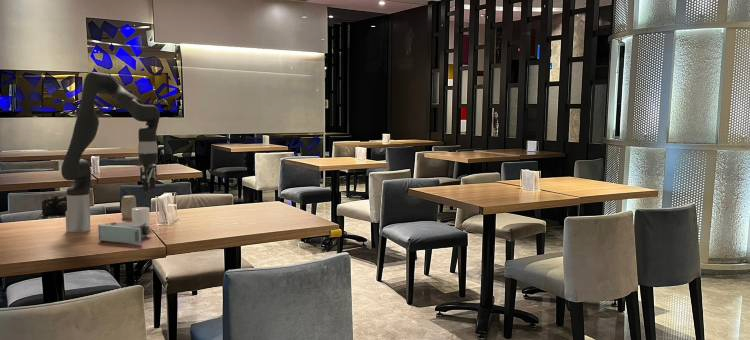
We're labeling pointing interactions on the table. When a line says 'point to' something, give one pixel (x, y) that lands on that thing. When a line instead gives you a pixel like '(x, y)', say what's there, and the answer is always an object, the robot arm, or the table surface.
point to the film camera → (54, 205)
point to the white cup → (140, 215)
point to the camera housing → (135, 225)
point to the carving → (127, 206)
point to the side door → (119, 234)
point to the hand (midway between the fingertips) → (149, 190)
